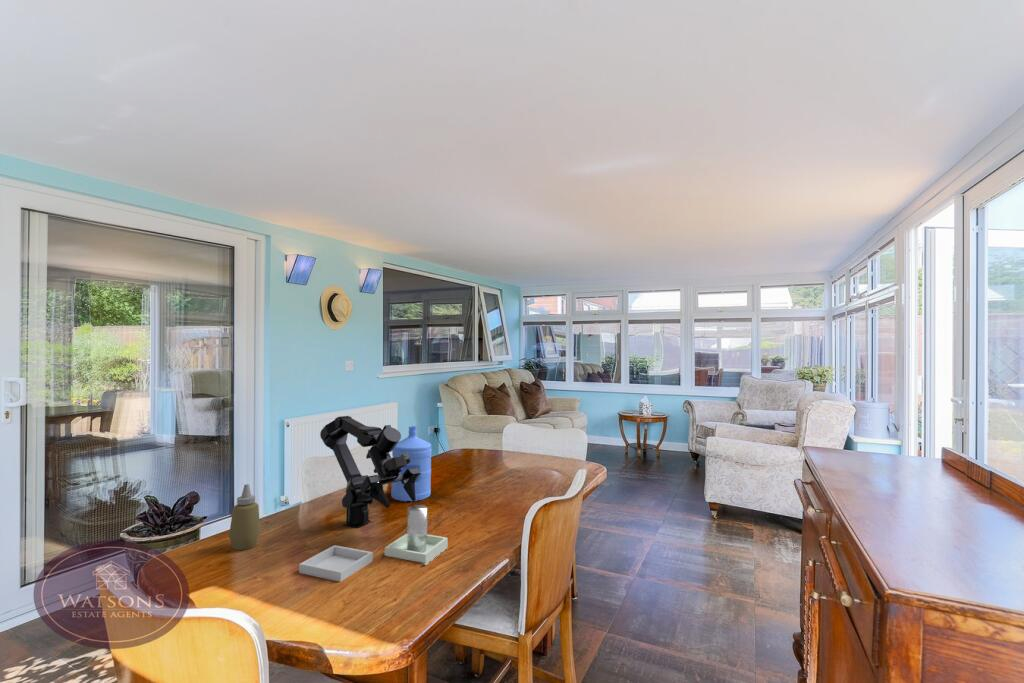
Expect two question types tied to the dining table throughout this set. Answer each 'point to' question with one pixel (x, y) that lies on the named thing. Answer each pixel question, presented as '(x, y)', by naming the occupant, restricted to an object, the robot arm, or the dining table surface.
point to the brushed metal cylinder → (417, 528)
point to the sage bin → (433, 549)
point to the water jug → (419, 459)
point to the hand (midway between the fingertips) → (401, 504)
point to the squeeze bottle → (245, 521)
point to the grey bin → (336, 563)
